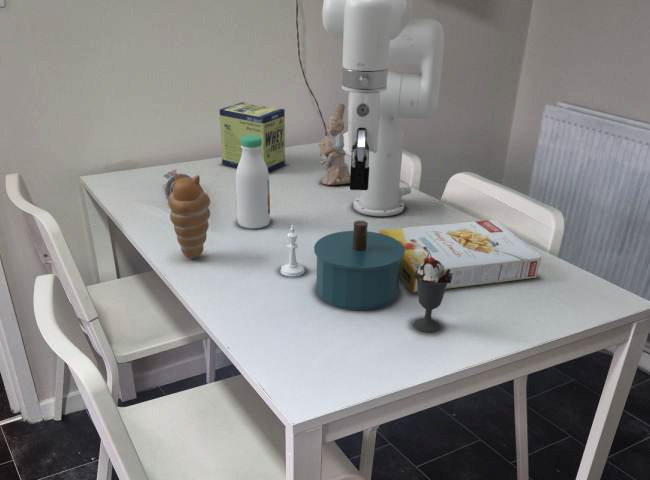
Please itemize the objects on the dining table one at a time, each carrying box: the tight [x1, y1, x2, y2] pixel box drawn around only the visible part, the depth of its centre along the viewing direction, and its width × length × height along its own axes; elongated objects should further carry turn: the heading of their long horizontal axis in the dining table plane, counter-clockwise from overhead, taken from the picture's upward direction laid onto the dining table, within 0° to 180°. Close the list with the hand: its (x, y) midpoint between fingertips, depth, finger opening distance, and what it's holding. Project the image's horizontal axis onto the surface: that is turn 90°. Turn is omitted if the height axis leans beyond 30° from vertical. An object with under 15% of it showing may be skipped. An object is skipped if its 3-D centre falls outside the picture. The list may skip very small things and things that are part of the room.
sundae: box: [412, 247, 452, 333], centre depth 125 cm, size 7×7×15 cm
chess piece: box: [280, 224, 305, 277], centre depth 145 cm, size 5×5×10 cm
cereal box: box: [378, 219, 542, 294], centre depth 149 cm, size 20×6×28 cm
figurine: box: [318, 102, 350, 186], centre depth 189 cm, size 9×8×20 cm
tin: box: [315, 256, 401, 311], centre depth 138 cm, size 16×16×8 cm
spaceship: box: [162, 168, 192, 200], centre depth 176 cm, size 8×35×8 cm
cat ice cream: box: [167, 172, 211, 260], centre depth 148 cm, size 9×8×18 cm
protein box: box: [219, 101, 286, 173], centre depth 202 cm, size 10×16×16 cm
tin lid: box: [313, 220, 405, 270], centre depth 135 cm, size 17×17×6 cm
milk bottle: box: [235, 135, 271, 229], centre depth 164 cm, size 8×8×20 cm
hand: (359, 180), depth 129 cm, fingers open, 9 cm apart
